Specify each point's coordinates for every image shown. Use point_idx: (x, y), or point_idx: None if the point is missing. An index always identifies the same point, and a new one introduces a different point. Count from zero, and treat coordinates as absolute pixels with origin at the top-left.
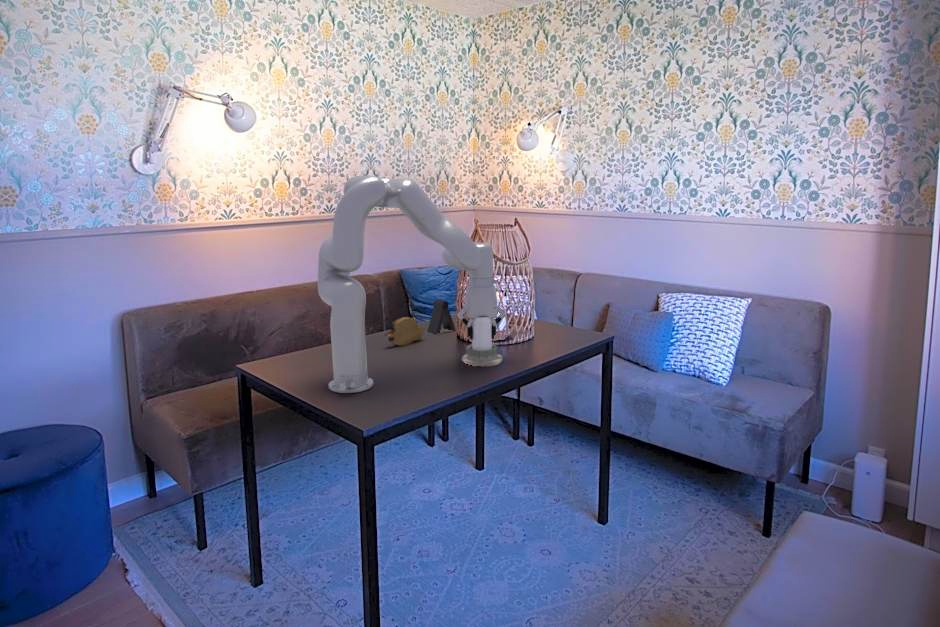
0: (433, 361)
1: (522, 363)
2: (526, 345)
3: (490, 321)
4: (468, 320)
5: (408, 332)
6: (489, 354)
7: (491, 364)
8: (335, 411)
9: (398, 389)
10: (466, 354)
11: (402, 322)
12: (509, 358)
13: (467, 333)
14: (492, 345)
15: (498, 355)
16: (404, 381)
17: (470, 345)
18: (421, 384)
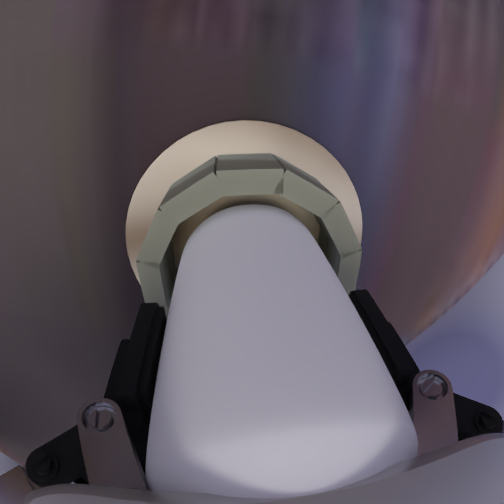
0: (8, 232)
1: (415, 291)
2: (495, 20)
3: None
4: (101, 464)
5: None
6: None
7: None
8: (12, 457)
9: (38, 431)
10: (148, 172)
11: None
12: (394, 213)
13: (119, 346)
14: (335, 244)
15: (349, 213)
16: (21, 400)
17: (163, 231)
18: (68, 424)
